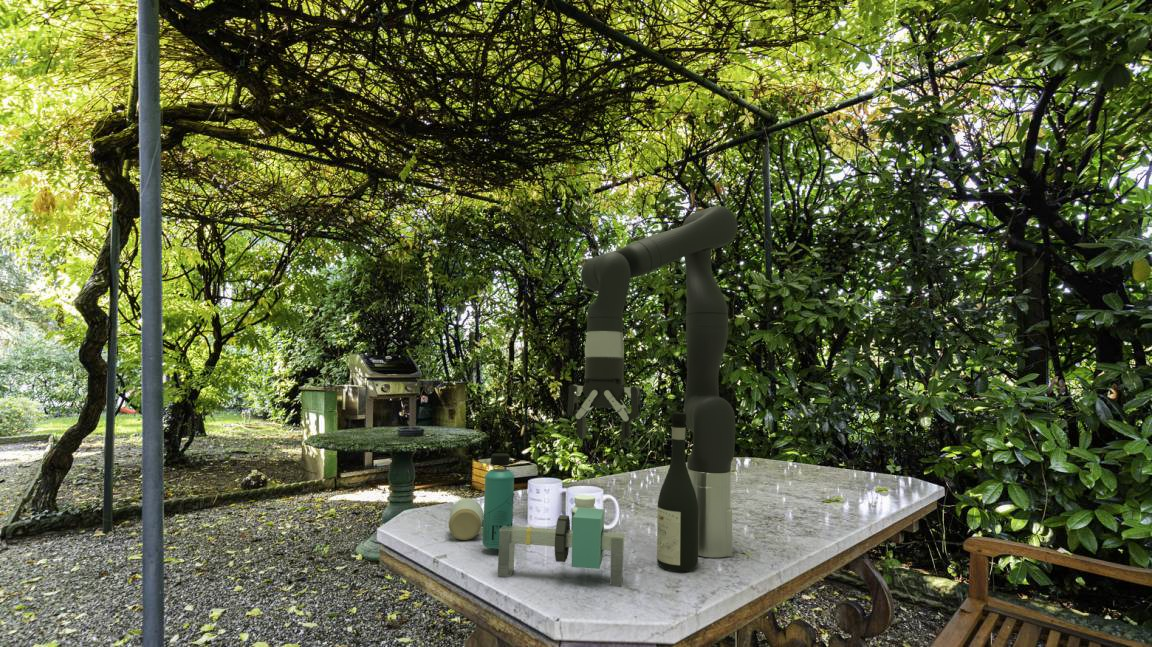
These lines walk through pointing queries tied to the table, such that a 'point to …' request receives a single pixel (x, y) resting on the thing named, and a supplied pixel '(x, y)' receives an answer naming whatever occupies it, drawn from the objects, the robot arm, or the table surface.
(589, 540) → the sleeve
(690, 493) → the wine bottle
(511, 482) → the beverage bottle
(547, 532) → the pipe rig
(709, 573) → the table surface
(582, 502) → the pill bottle
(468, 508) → the beige cylinder
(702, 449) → the robot arm
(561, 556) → the o ring
